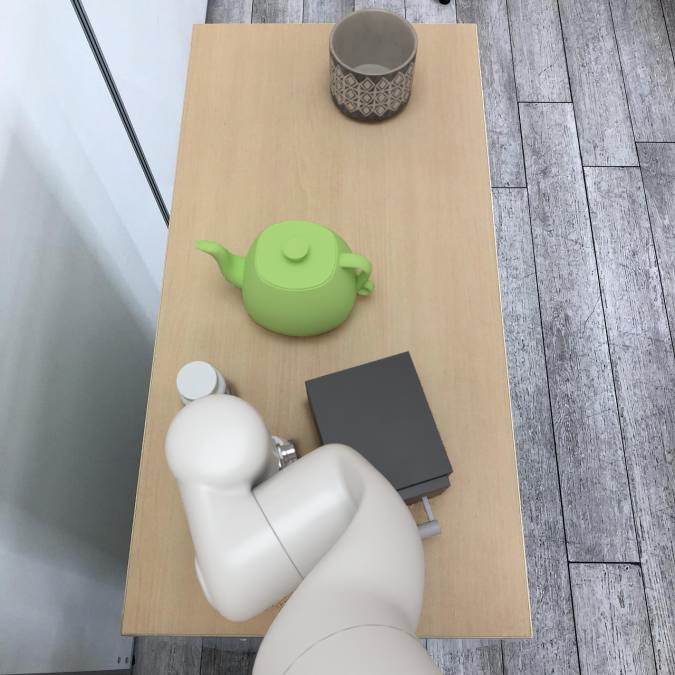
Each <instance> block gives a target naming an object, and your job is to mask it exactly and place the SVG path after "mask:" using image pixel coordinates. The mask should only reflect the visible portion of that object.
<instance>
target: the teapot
mask: <svg viewBox="0 0 675 675" xmlns="http://www.w3.org/2000/svg"><path fill="white" fill-rule="evenodd" d="M193 247H195V249H197V250H199V251H201V252H203V253H205V254H207V255H209V256H210V257H212V258H213V259H214V260H215V262H216V263H217V266H218V268H219V270H220V271H219V272H220V273H221V275H222V276H223V278H224V280H225V281H226V282H228V283H229V284H230V285H232V286H234V287H235V288H238V289H240V290H241V295H242V302H243V305H244V309H245V311H246V312H247V314H248V316H249V317H250V318H251V319H252V321H253V322H255V323H256V324H258V325H259V326H261V327H263V328H264V329H267V330H269V331H271V332H274V333H276V334H279V335H284V336H289V337H312V336H317V335H321V334H324V333H328V332H330V331H332V330H334V329H336V328H338V327H339V326H341V325H342V324H343V323H344V322H345V321H346V320H347V319H348V318H349V316H350V315H351V313H352V311H353V309H354V306H355V303H356V299H357V295H360V296H368V295H371V294H373V292H374V290H375V282H374V280H371V279H370V277H371V274H372V271H373V266H372V262H371V260H370V259H369V258H367V257H366V256H365V255H362V254H360V253H359V254H358V253H354V252H352V249H351V247H350V246H349V245H348V243H347V242H346V241H345V239H343V238H342V236H340V235H339V234H338V233H337V232H335V231H334V230H331V229H330V228H328V227H326V226H324V225H321V224H318V223H315V222H311V221H306V220H305V221H304V220H288V221H287V220H286V221H281V222H278V223H275V224H271V225H270V226H268V227H266V228H265V229H264V230H262V231H261V232H260V233H259V234H258V235H257V236H256V237H255V238H254V240H253V241H252V242H251V244H250V246H249V248H248V250H247V253H246V256H240V255H238V254H237V255H236V254H233V253H231V252H230V251H229V250H228V249H227V248H226V247H225V246H224V245H221V243H217V242H216V241H212V240H207V239H199V240H196V241H194V242H193ZM358 270H359V271H360V272H359V273H358Z"/></svg>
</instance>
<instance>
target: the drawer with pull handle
mask: <svg viewBox="0 0 675 675" xmlns="http://www.w3.org/2000/svg"><path fill="white" fill-rule="evenodd" d="M451 486H452V485H451V482H450V478H449V477H448V476H447V475H445V476H442V477H439V478H436V479H432V480H429V481H426V482H423V483H420V484H417V485H413V486H410V487H407V488H404V489H401V490H398V491H397V492H398V494H399V495H400V496H401V498H402V499H403V501H404V503H405V504H406V506H407V507H408V506H411V505H413V504H418V503H420V502H422V506H423V508H424V511H425V514H426V518H427V520H428V521H427V522H424V523H421V524H416V525H417V527H418V530H419V533H420V537H421V541H423V540H426V539H429V538H433V537H435V536H439V535H441V534H442V529H441V525H440V523H439V520H438V519H435V516H434V513H433V511H432V508H431V505H430V502H429V500H430V499H432V498H436V497H439V496H441V495H442V494H443V493H444V492H445V491H446V490H448V488H450V487H451Z"/></svg>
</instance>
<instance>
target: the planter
mask: <svg viewBox="0 0 675 675" xmlns="http://www.w3.org/2000/svg"><path fill="white" fill-rule="evenodd" d="M416 31H417V30H416V29H415V27H414V26H413V25H412V23H411V22H410V21H409V20H408V19H406V18H405V17H404V16H403V15H401V14H399V13H397V12H395V11H393V10H389V9H387V8H386V9H385V8H378V7H368V8H361V9H360V8H359V9H357V10H354V11H351V12H349V13H346V14H345V15H343V16H342V17H341V18H340V19H339V20H338V21H336V23H335V24H334V26H332V28H331V31H330V33H329V37H328V51H329V89H330V90H329V92H330V96H331V99H332V101H333V102H334V105H336V107H337V108H338V109H339V110H340V111H341V112H343V114H345V115H347V116H349V117H351V118H353V119H357V120H360V121H366V122H376V121H382V120H386V119H389V118H392V117H393V116H396V115H398V114H399V113H400V112H401V111H402V110H403V109H404V108H405V107H406V106H407V105H408V102H409V100H410V98H411V95H412V88H413V82H414V75H415V68H416V60H417V55H418V46H419V38H418V33H417V32H416Z"/></svg>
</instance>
